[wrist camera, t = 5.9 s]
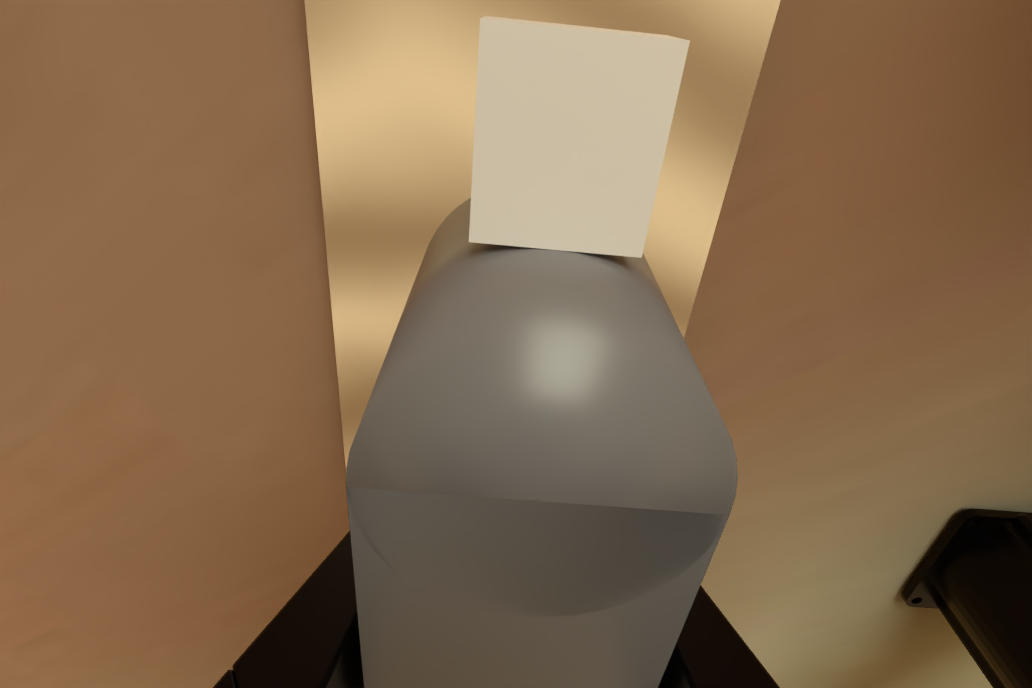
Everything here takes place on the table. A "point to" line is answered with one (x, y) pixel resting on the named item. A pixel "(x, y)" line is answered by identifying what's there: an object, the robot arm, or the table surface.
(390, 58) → the birch board
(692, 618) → the robot arm
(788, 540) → the table surface
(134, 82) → the table surface
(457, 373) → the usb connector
